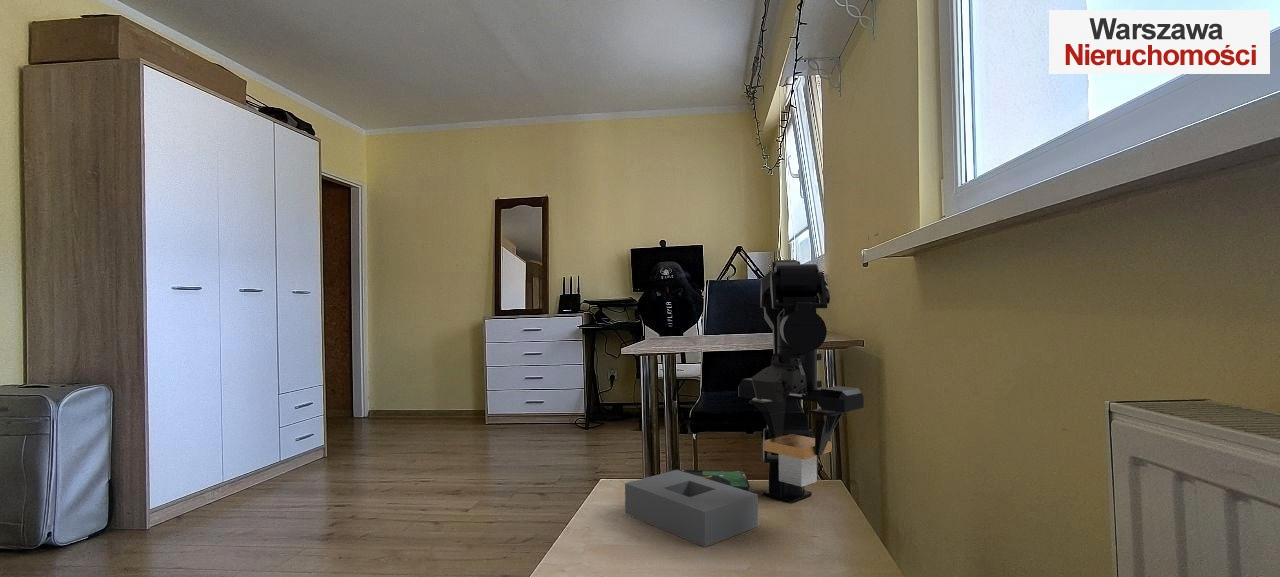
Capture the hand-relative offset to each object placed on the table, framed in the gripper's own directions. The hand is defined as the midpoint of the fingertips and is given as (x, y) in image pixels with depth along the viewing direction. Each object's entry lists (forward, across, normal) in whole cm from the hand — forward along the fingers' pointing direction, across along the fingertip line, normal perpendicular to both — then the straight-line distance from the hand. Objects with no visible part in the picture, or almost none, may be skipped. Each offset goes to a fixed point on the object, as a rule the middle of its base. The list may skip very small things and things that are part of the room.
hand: (797, 450), depth 91 cm
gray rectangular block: (+13, -15, -8) cm, 21 cm away
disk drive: (+13, -24, +6) cm, 28 cm away
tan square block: (+5, 0, 0) cm, 5 cm away
